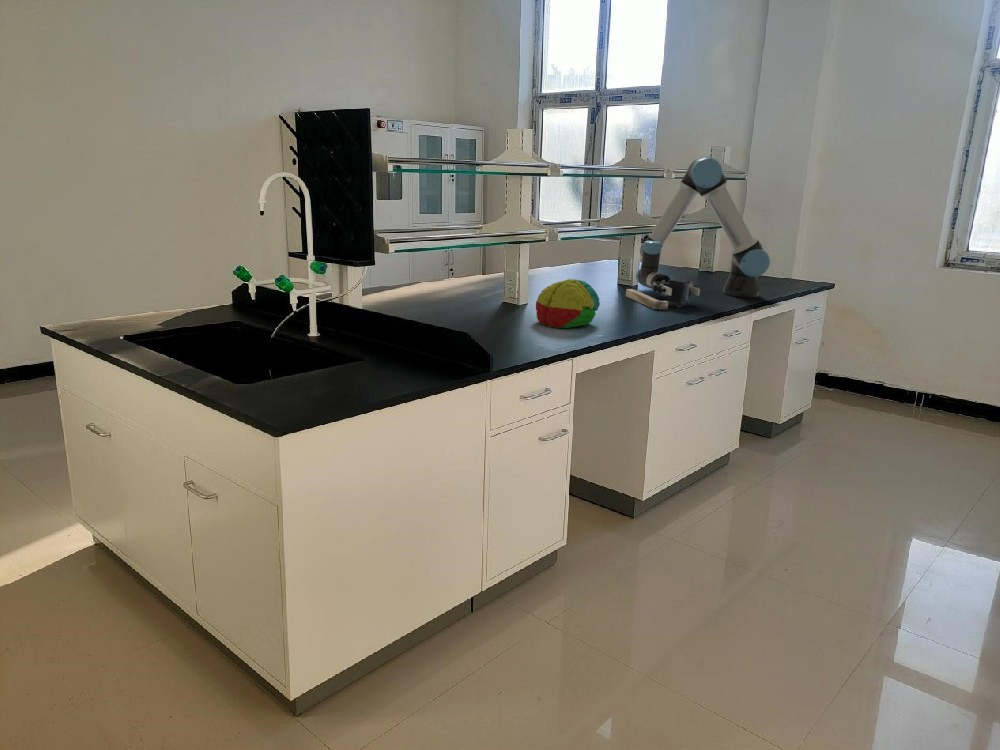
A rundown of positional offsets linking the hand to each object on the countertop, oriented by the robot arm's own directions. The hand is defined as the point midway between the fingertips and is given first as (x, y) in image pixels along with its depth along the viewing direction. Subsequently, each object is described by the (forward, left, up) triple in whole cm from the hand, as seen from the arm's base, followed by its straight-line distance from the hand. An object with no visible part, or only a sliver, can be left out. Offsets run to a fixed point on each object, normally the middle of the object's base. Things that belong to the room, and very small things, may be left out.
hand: (684, 292), depth 281 cm
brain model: (+58, +25, -6) cm, 63 cm away
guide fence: (+12, -9, -6) cm, 16 cm away
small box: (0, -4, -6) cm, 7 cm away
